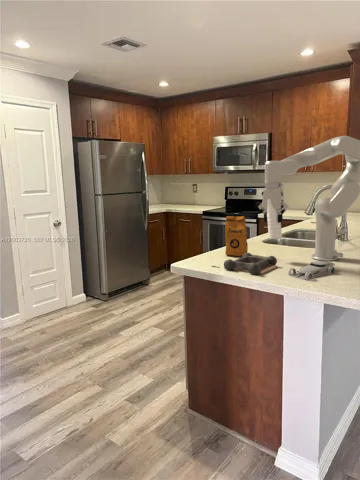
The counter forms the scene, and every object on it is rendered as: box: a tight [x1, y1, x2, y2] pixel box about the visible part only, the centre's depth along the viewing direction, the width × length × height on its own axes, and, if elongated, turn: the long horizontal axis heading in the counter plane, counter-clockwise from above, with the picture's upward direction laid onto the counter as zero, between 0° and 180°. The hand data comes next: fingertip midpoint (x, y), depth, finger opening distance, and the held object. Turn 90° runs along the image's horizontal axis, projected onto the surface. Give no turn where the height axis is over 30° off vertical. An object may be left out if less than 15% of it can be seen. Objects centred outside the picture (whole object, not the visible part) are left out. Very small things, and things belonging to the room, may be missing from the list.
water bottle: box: [259, 189, 283, 240], centre depth 177 cm, size 9×6×25 cm
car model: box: [287, 260, 337, 281], centre depth 157 cm, size 11×24×5 cm, turn 123°
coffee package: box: [224, 215, 249, 257], centre depth 195 cm, size 10×12×22 cm
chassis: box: [223, 252, 278, 276], centre depth 168 cm, size 20×19×5 cm
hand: (273, 221), depth 177 cm, fingers closed on water bottle, 6 cm apart
